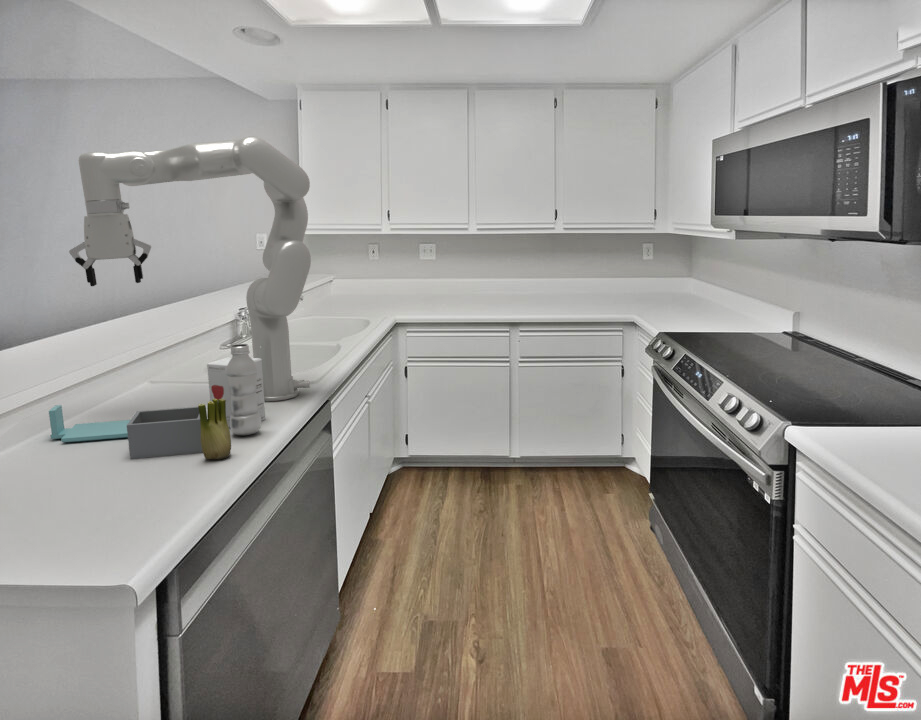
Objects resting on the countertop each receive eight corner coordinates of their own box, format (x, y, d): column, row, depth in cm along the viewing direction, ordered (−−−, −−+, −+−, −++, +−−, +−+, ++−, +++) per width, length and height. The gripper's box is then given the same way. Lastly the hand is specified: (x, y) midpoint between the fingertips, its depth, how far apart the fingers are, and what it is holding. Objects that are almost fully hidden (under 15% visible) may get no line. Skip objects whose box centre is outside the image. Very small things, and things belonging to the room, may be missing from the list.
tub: (208, 436, 159) (205, 406, 157) (203, 452, 148) (200, 419, 147) (140, 442, 155) (136, 411, 154) (130, 458, 145) (126, 425, 143)
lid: (144, 425, 170) (141, 396, 168) (135, 439, 158) (131, 408, 157) (62, 431, 166) (58, 401, 164) (46, 447, 154) (42, 415, 153)
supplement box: (210, 426, 166) (204, 363, 164) (235, 416, 175) (230, 355, 172) (243, 430, 163) (238, 365, 160) (267, 419, 172) (262, 357, 169)
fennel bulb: (203, 463, 141) (197, 404, 139) (201, 456, 146) (195, 398, 143) (234, 459, 144) (229, 401, 141) (231, 452, 148) (226, 395, 146)
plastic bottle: (229, 432, 162) (221, 344, 158) (260, 428, 164) (253, 341, 160) (232, 440, 156) (224, 349, 152) (264, 436, 158) (257, 346, 154)
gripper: (147, 207, 170) (158, 279, 174) (67, 211, 166) (79, 285, 169) (142, 207, 163) (153, 282, 167) (58, 211, 159) (71, 288, 162)
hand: (116, 284), depth 168 cm, fingers open, 9 cm apart
